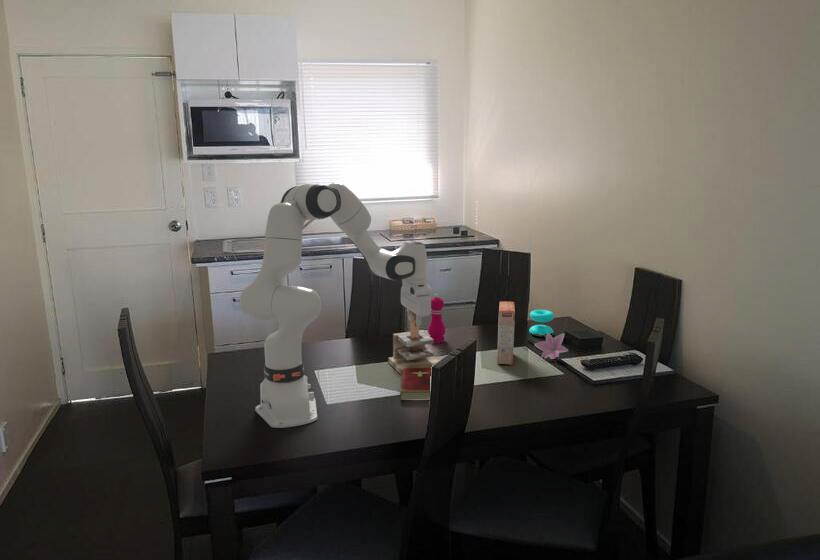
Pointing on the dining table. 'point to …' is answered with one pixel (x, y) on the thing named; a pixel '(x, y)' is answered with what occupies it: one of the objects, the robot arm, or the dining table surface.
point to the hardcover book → (415, 383)
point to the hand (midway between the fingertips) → (414, 322)
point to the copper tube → (414, 334)
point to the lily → (551, 346)
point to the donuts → (541, 317)
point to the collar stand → (403, 352)
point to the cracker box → (506, 332)
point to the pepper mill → (436, 320)
